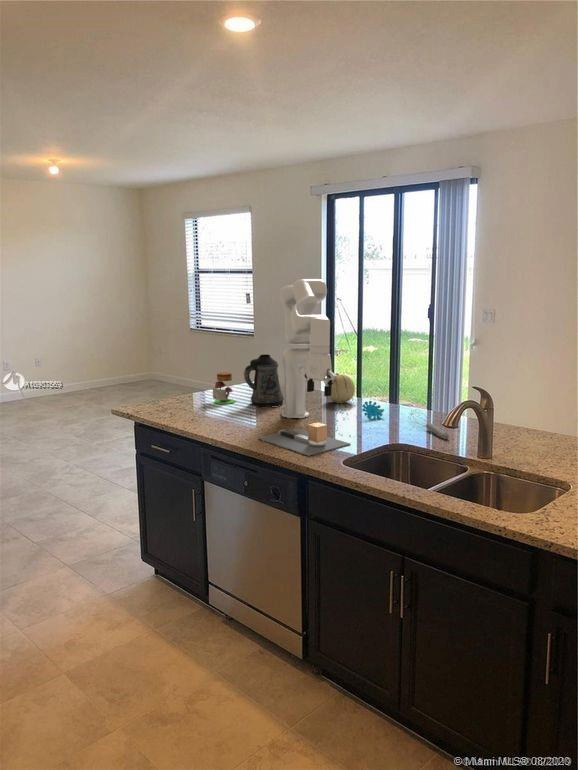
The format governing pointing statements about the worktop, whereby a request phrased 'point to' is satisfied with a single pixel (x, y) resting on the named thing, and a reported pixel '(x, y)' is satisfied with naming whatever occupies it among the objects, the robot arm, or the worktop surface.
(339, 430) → the worktop surface
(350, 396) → the cantaloupe
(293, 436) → the ratchet
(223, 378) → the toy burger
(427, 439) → the worktop surface
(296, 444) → the mat
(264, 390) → the beer stein
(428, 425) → the kitchen whisk
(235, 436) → the worktop surface
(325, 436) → the wooden block
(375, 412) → the teal virus model
